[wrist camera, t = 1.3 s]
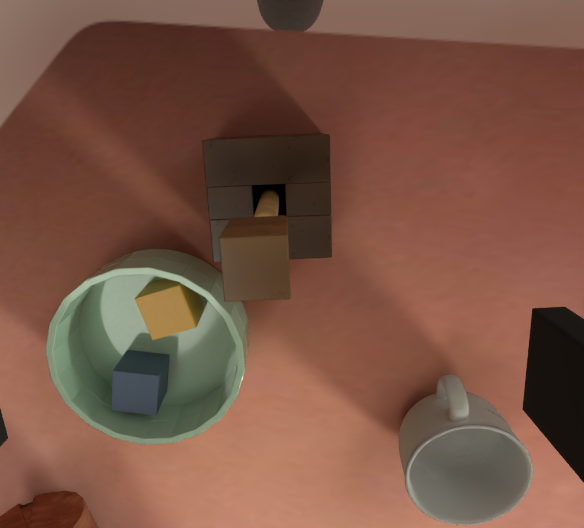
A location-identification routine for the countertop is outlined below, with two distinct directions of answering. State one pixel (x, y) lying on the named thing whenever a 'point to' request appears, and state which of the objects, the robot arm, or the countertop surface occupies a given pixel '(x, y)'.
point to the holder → (272, 170)
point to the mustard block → (169, 308)
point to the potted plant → (50, 512)
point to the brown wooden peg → (256, 253)
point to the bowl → (148, 348)
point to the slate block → (140, 382)
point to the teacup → (462, 457)
